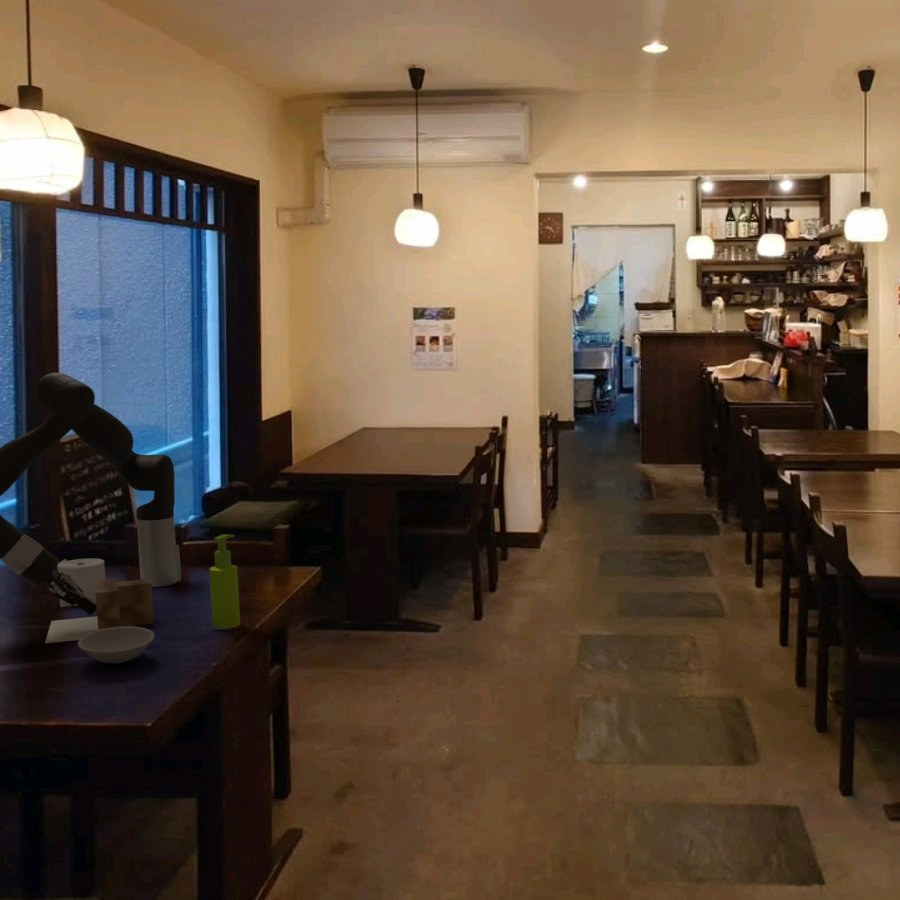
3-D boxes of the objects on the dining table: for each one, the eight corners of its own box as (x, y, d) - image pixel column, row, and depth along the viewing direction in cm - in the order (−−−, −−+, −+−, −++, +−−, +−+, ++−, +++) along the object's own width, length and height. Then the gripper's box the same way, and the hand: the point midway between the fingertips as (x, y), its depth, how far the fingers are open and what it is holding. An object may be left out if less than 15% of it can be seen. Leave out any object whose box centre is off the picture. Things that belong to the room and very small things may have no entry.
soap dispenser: (247, 622, 238) (242, 533, 236) (231, 631, 232) (226, 539, 229) (224, 620, 240) (219, 532, 238) (207, 629, 234) (202, 538, 231)
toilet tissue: (92, 610, 253) (89, 568, 252) (46, 609, 255) (42, 567, 254) (115, 598, 263) (112, 558, 262) (70, 597, 266) (67, 557, 264)
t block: (98, 634, 228) (95, 592, 227) (98, 619, 241) (95, 579, 240) (154, 628, 232) (152, 587, 231) (151, 613, 244) (149, 574, 243)
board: (45, 647, 224) (44, 643, 223) (52, 625, 241) (51, 620, 241) (193, 632, 232) (193, 627, 232) (190, 611, 249) (189, 607, 249)
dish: (158, 671, 206) (157, 646, 205) (79, 681, 201) (77, 655, 201) (153, 646, 222) (151, 622, 222) (79, 655, 218) (77, 631, 217)
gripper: (21, 567, 235) (84, 617, 239) (13, 580, 222) (80, 632, 227) (45, 541, 236) (107, 591, 240) (39, 552, 223) (105, 605, 227)
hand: (94, 611), depth 233 cm, fingers closed
